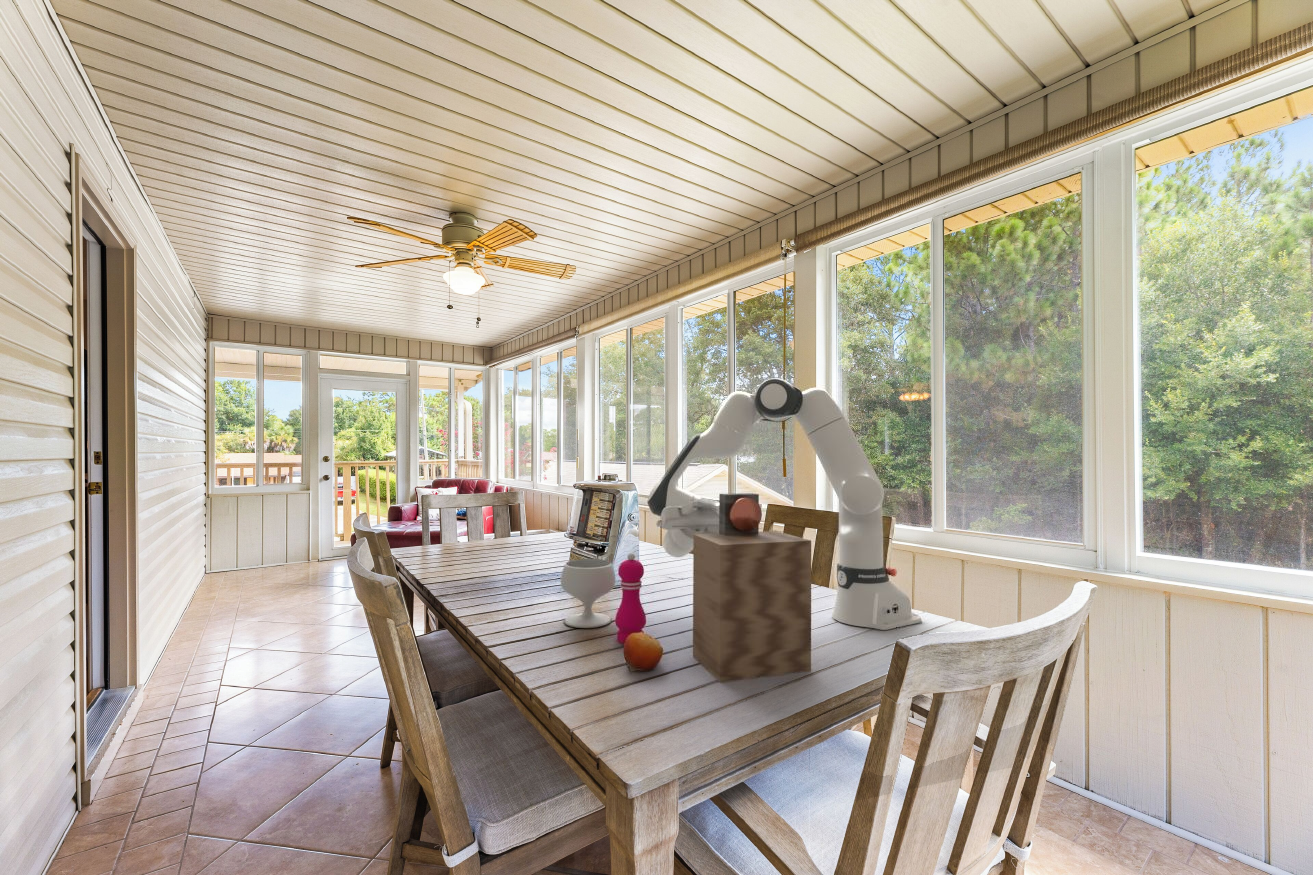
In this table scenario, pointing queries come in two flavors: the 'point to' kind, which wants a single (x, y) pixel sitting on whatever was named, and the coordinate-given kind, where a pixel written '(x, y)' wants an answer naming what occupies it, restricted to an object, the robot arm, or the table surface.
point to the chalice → (588, 589)
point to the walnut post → (751, 600)
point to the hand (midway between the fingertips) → (709, 503)
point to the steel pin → (736, 512)
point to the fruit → (642, 652)
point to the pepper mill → (630, 599)
